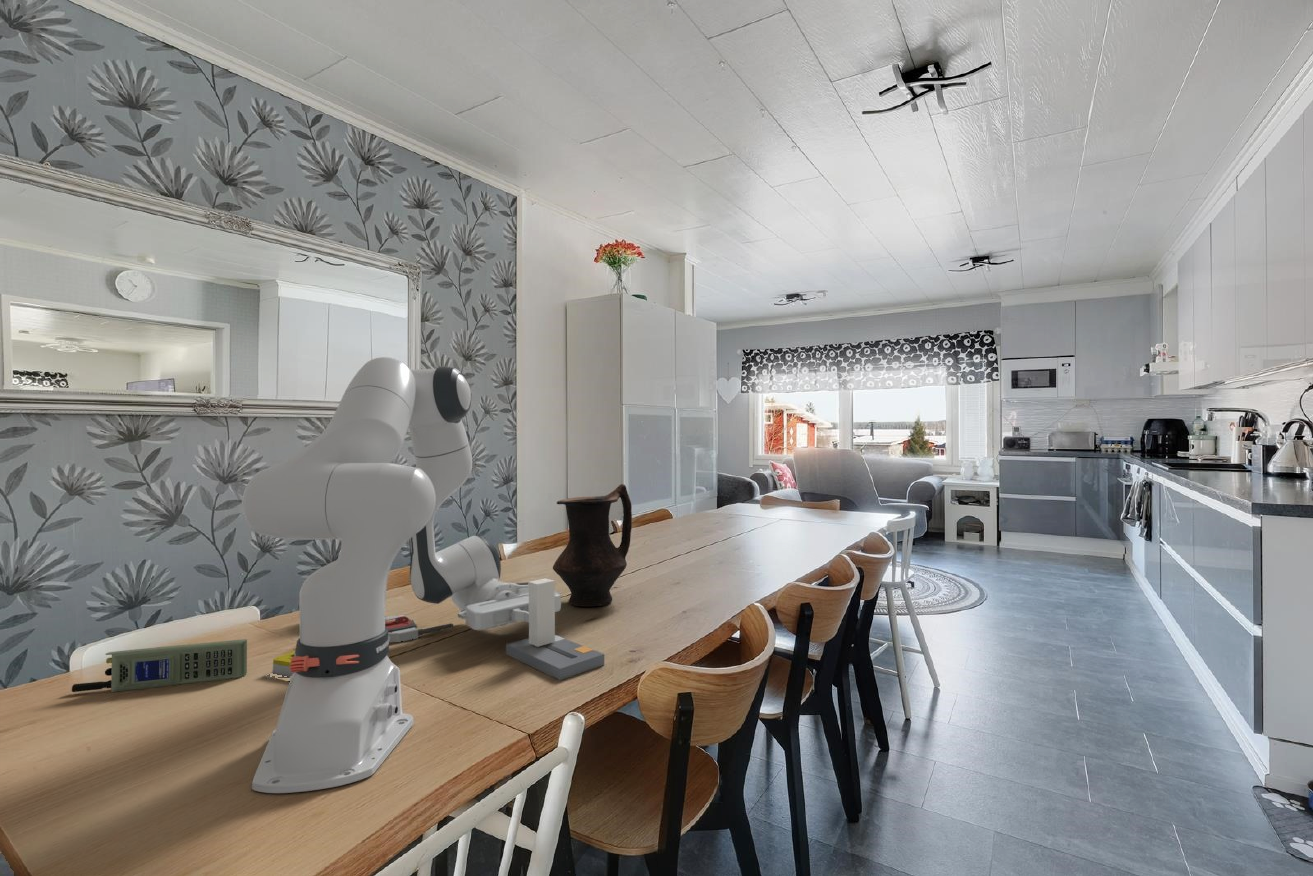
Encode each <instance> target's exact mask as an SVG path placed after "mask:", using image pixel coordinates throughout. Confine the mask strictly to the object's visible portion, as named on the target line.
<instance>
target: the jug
mask: <svg viewBox="0 0 1313 876" xmlns="http://www.w3.org/2000/svg"><path fill="white" fill-rule="evenodd" d="M619 499H620V500H621V504H622V513H623V514H622V515H623V516H622V526H621V539H620V541H621V542H620V544H619V546H618V547H616V545H615V544H614V542H613V541H612V539H611V536H610V509H611V505H612V504H613V503H616V502H618V500H619ZM556 505H564V506H565V511H566V516H567V523H568V532H569V534H568V535H569V537H568V542H567V545H566V546H565V548H564V549H563V551H562V552H561V553H560V554H559V556H558V558H557V559H556V560H555V562H554V564H553V566H552V570H553V572H555V573H556V574H557V575H558V576H559V577H560V579H561V580H562V582H563V583H564V584H565V585H566V586H567V587H568V589H569V591H570V597H569V599H568V603H569V604H570V605H572V606H577V607H598V606H599V607H600V606H605V605H607V604H609V603H611V602H612V601H613V596H612V595H611V591H610V590H611V589H612V587H613V586H614V584H615V583H616V581H617V580H618V579H619V578H620V576H621V575H622V574H623V572H624V571H625V569H626V567H627V561H626V557H627V554H628V553H629V548H630V546H631V545H630V544H631V538H632V537H631V535H632V525H633V523H632V522H633V521H632V519H633V513H632V501H631V499H630V496H629V493H628V489H627V486H626V484H624V483H621V484H619V485H618V486H617V487H615V489H614V490H613V491H611V492H610V493H609V494H605V495H598V496H581V497H580V496H576V497H570V498H566V499H559V500H558V501H556Z"/></svg>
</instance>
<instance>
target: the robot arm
mask: <svg viewBox="0 0 1313 876" xmlns="http://www.w3.org/2000/svg"><path fill="white" fill-rule="evenodd" d="M471 404H472V392H471V387H470V385H469V382H468V379H467V377H466V376H465V374H464V373H462V371H460V370H459V369H457V368H456V367H450V366H438V367H436V368H422V369H420V368H419V369H410V367H409V366H407V365H406V364H405V363H404V362H402V360H401V361H400V360H399V359H395V358H392V357H386V356H384V357H383V356H382V357H381V356H380V357H375V358H372V359H370V360H369V361H367V362H366V363H364V364H363V365H362V367H361V368H360V369H359V370H357V372H356V374H354V377H353V378H352V379H351V381H350V382H349V384H348V386H347V387H346V389H345V391H344V393H343V395H342V397H341V399H340V402H339V404H338V406H337V408H336V409H335V411H334V412H335V413H334V414H333V416H332V417H331V419H330V421H329V422H328V423H329V424H328V425H327V426H326V428H325V429H324V430H323V431H322V432H321V433H320V435H318V436H317V437H316V438H315V439H314V440H313V441H312V442H310V443H309V444H307V446H305V447H304V448H302V449H301V450H300V451H298V452H297V453H295V454H294V455H291V456H290V457H288V458H287V459H285V460H283V461H282V462H279V463H276V464H274V465H271V466H270V467H267V468H264V469H261V470H259V471H258V472H256V473H255V474H254V475H253V476H252V477H251V478H250V480H249V482H248V483H247V485H246V486H245V488H244V491H243V494H242V500H241V510H242V513H243V517H244V520H245V521H246V523H247V525H248V526H249V527H250V529H251V530H252V531H253V533H255V534H258V535H261V536H266V537H271V538H275V539H276V538H277V539H283V540H289V541H304V540H305V541H308V540H309V541H316V540H317V541H320V540H340V543H341V544H340V545H341V547H340V551H339V552H340V553H339V555H338V558H337V559H336V560H334V561H331V562H330V563H327V564H326V565H323V566H322V567H321V568H318V569H317V570H315V571H313V572H312V573H311V574H310V575H308V577H307V578H306V579H305V580H304V582H303V583H302V584H301V587H300V590H299V593H298V596H299V598H298V600H299V604H298V605H299V607H298V609H299V613H298V614H299V637H298V639H297V640H296V643H295V645H296V646H295V649H294V651H295V653H294V657H292V659H291V662H290V671H291V672H292V673H293V672H295V673H294V674H292V676H290V682H288V686H287V689H286V692H285V695H284V699H283V702H282V706H281V710H280V711H279V715H278V719H277V723H276V727H275V729H274V730H273V731H272V733H271V734H270V737H269V740H268V741H267V744H266V747H265V750H264V752H263V754H262V756H261V759H260V762H259V763H258V766H257V769H256V771H255V774H254V776H253V779H252V783H251V785H252V786H251V790H253V791H255V792H260V793H265V794H266V793H267V794H288V793H300V792H301V793H302V792H310V791H319V790H324V789H330V788H335V787H340V786H344V785H347V784H352V783H355V782H358V781H362V780H364V779H366V778H369V777H370V776H373V774H374V773H376V771H378V769H379V767H380V766H381V765H382V764H383V762H384V761H385V760H386V759H387V757H389V755H390V754H391V752H392V751H393V750H394V749H395V747H396V746H397V745H398V744H399V743H400V741H402V740H403V738H404V737H405V735H406V734H407V733H408V732H409V730H410V729H411V727H412V726H414V723H415V722H414V716H413V715H412V714H410V713H406V712H403V708H402V707H403V706H402V705H403V704H402V685H401V671H400V667H398V666H397V665H396V664H395V663H393V662H392V661H391V659H390V657H389V656H388V654H389V653H390V652H389V651H390V650H389V648H390V647H389V644H390V643H389V636H388V628H387V627H385V617H386V599H387V598H386V596H387V585H388V578H389V575H390V570H391V568H392V565H393V563H394V560H395V559H396V557H397V556H398V554H399V552H400V551H401V549H402V548H403V547H404V545H405V544H407V542H409V554H410V562H409V563H410V566H409V581H410V585H411V588H412V591H413V593H414V595H415V596H416V598H417V599H419V600H420V601H423V602H425V603H428V604H435V605H436V604H437V605H438V604H441V603H442V602H444V601H445V600H447V599H449V598H451V601H452V603H453V604H454V605H455V606H456V607H457V608H458V609H459V610H460V611H459V612H457V617H458V618H459V619H462V620H465V625H467V626H468V627H469V628H470V629H473V630H475V631H485V630H489V629H492V628H493V629H494V628H496V627H497V628H498V627H503V626H506V625H508V624H509V625H510V624H513V623H516V622H526V623H529V581H528V582H509V581H505V582H504V581H500V579H501V572H502V564H501V563H502V562H501V558H500V554H499V552H498V550H497V548H496V546H495V545H494V544H493V543H492V542H491V541H490V540H488V539H486V538H485V537H483V536H481V535H477V534H475V535H474V534H473V535H472V536H470V537H469V536H468V537H467V538H465V539H461V540H460V541H457V542H455V543H453V544H452V545H450V546H447V547H445V548H443V549H441V550H439V551H436V545H435V544H436V543H435V532H434V530H435V529H434V528H435V527H434V519H435V516H436V513H437V511H438V510H439V508H440V507H441V506H442V505H443V504H444V503H445V501H446V500H447V499H448V498H450V497H451V495H453V494H454V493H456V491H458V490H459V489H460V488H461V487H462V486H463V485H464V484H465V483H466V482H467V480H468V479H469V477H470V475H471V472H472V470H473V456H472V450H471V447H470V446H471V445H470V443H469V438H468V435H467V431H466V429H465V425H464V423H463V420H462V419H463V418H465V417H466V415H467V414H468V412H469V410H470V409H471ZM408 429H409V433H410V434H409V435H410V438H411V439H410V440H411V446H412V450H413V454H414V458H415V466H410V465H405V464H399V463H394V462H393V461H394V460H395V459H396V458H397V457H398V456H399V454H400V452H401V451H402V447H403V445H404V442H405V439H406V435H407V433H408ZM392 462H393V463H392ZM561 609H562V596H561V594H560V592H558V591H555V613H557V612H560V611H561Z"/></svg>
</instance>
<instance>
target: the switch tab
mask: <svg viewBox="0 0 1313 876" xmlns="http://www.w3.org/2000/svg"><path fill="white" fill-rule="evenodd" d="M528 583H529V622H528V638H529V643H530V644H532V645H535V646H537V647H539V646H542V645H546V644H549V643H552V642H555V635H556V625H555V624H556V622H555V621H556V617H555V616H556V612H555V592H556V590H555V580H553V579H549V578H546V577H545V578H540V579H535V580H530V581H528Z"/></svg>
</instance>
